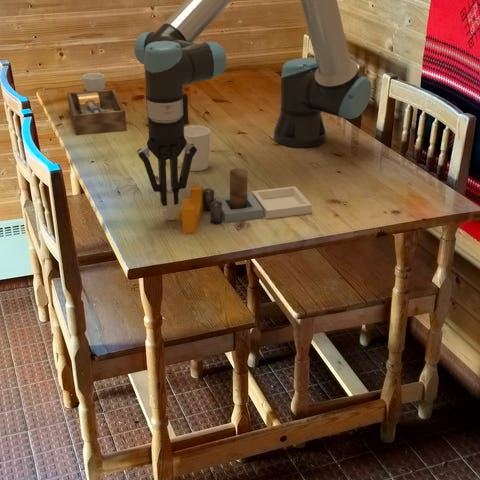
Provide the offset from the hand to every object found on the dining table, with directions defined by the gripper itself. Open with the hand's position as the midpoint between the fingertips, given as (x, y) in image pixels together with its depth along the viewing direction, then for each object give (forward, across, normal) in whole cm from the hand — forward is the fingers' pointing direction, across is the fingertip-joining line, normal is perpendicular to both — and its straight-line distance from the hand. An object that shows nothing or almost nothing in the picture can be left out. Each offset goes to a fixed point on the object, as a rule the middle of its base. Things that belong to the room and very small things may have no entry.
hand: (170, 217), depth 164 cm
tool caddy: (+1, -8, +74) cm, 74 cm away
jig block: (+1, +16, 0) cm, 16 cm away
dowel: (+1, +16, 0) cm, 16 cm away
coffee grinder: (+2, +13, +70) cm, 71 cm away
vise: (+2, -9, +75) cm, 76 cm away
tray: (+1, +27, 0) cm, 27 cm away
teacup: (+2, -5, +106) cm, 106 cm away
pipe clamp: (+2, +4, -1) cm, 5 cm away
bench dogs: (+1, +10, 0) cm, 10 cm away
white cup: (+2, +13, +30) cm, 33 cm away
